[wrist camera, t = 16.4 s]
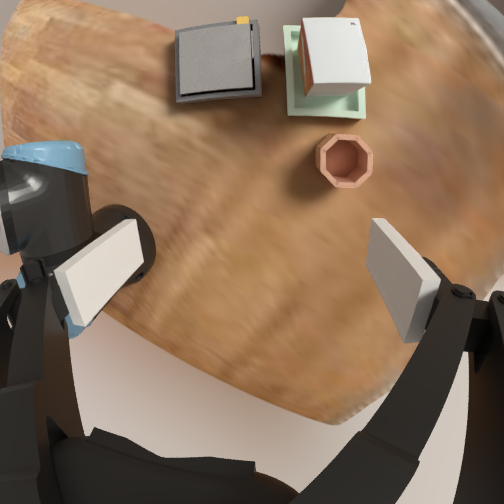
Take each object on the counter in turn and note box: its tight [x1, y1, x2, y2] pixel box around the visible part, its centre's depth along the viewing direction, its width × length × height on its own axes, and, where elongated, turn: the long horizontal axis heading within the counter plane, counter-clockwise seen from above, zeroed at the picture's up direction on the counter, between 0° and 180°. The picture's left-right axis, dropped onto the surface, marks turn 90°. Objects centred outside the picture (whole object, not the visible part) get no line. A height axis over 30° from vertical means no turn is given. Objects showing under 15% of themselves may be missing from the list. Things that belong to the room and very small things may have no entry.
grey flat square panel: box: [179, 23, 253, 95], centre depth 32 cm, size 10×10×1 cm
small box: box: [297, 18, 371, 97], centre depth 28 cm, size 8×6×13 cm
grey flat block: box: [175, 16, 263, 104], centre depth 33 cm, size 12×12×4 cm
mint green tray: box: [283, 26, 366, 119], centre depth 33 cm, size 11×14×2 cm
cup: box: [315, 134, 373, 188], centre depth 36 cm, size 7×7×6 cm
